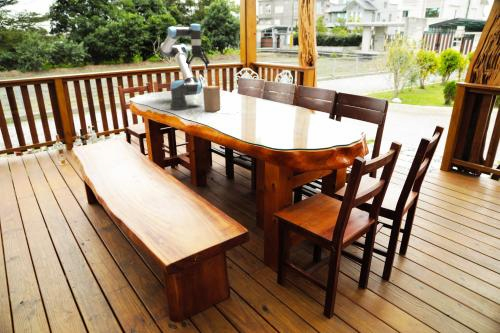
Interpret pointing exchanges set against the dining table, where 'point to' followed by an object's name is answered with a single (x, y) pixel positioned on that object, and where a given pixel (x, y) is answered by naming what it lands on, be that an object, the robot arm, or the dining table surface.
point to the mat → (228, 111)
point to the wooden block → (211, 98)
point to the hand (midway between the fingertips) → (198, 72)
